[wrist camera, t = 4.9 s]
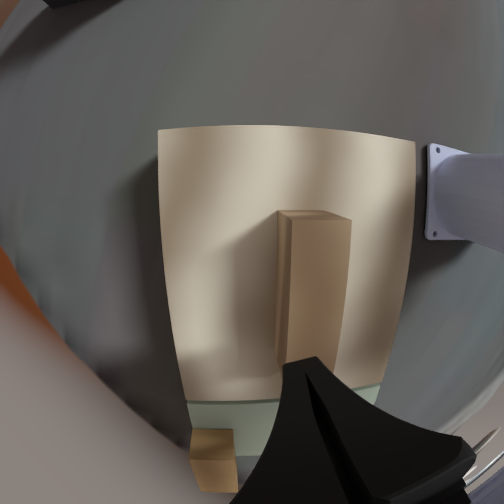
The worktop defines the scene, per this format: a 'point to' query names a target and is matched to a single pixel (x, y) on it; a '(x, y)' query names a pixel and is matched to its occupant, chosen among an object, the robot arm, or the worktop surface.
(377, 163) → the lid
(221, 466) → the block
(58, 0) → the ammunition clip
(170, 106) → the worktop surface
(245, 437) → the flat box
